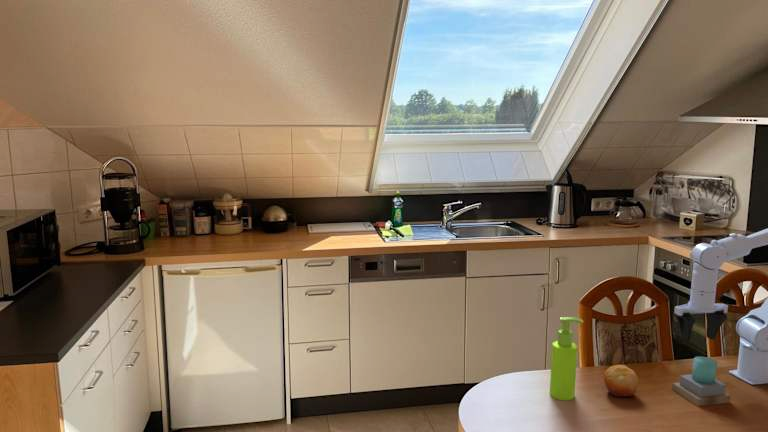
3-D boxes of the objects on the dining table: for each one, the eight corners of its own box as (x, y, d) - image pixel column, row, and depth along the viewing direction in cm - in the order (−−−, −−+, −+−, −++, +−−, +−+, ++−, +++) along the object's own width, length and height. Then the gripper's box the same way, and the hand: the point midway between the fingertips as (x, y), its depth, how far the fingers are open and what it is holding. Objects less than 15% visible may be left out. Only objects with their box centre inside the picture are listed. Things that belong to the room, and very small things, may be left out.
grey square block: (703, 381, 150) (704, 372, 150) (724, 394, 144) (725, 384, 143) (679, 384, 149) (680, 375, 148) (700, 397, 142) (701, 387, 142)
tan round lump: (629, 378, 153) (636, 360, 148) (636, 405, 147) (644, 387, 142) (597, 377, 154) (603, 358, 149) (603, 404, 148) (609, 385, 143)
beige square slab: (702, 388, 152) (703, 379, 152) (729, 405, 143) (730, 395, 143) (671, 392, 150) (672, 383, 150) (697, 409, 142) (698, 399, 141)
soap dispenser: (580, 401, 143) (584, 323, 140) (550, 399, 145) (554, 321, 141) (577, 391, 149) (581, 315, 146) (549, 388, 150) (552, 313, 147)
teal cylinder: (704, 374, 149) (707, 355, 148) (719, 383, 144) (721, 364, 143) (687, 375, 148) (689, 357, 147) (701, 385, 143) (703, 365, 142)
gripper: (715, 284, 159) (710, 332, 161) (668, 286, 156) (663, 335, 158) (736, 291, 152) (730, 341, 154) (687, 294, 149) (682, 345, 151)
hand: (698, 339), depth 156 cm, fingers open, 7 cm apart
